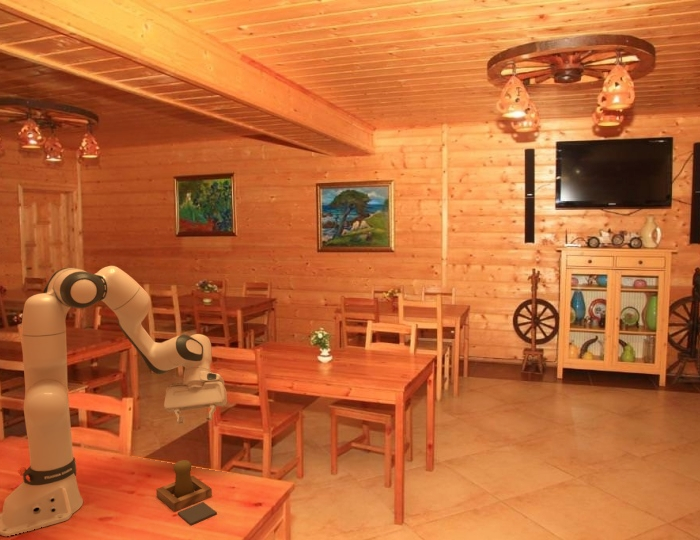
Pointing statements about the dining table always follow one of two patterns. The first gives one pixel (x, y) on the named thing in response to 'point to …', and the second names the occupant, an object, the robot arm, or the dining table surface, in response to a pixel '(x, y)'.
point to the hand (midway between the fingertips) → (194, 421)
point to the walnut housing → (179, 503)
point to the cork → (183, 478)
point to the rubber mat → (197, 513)
